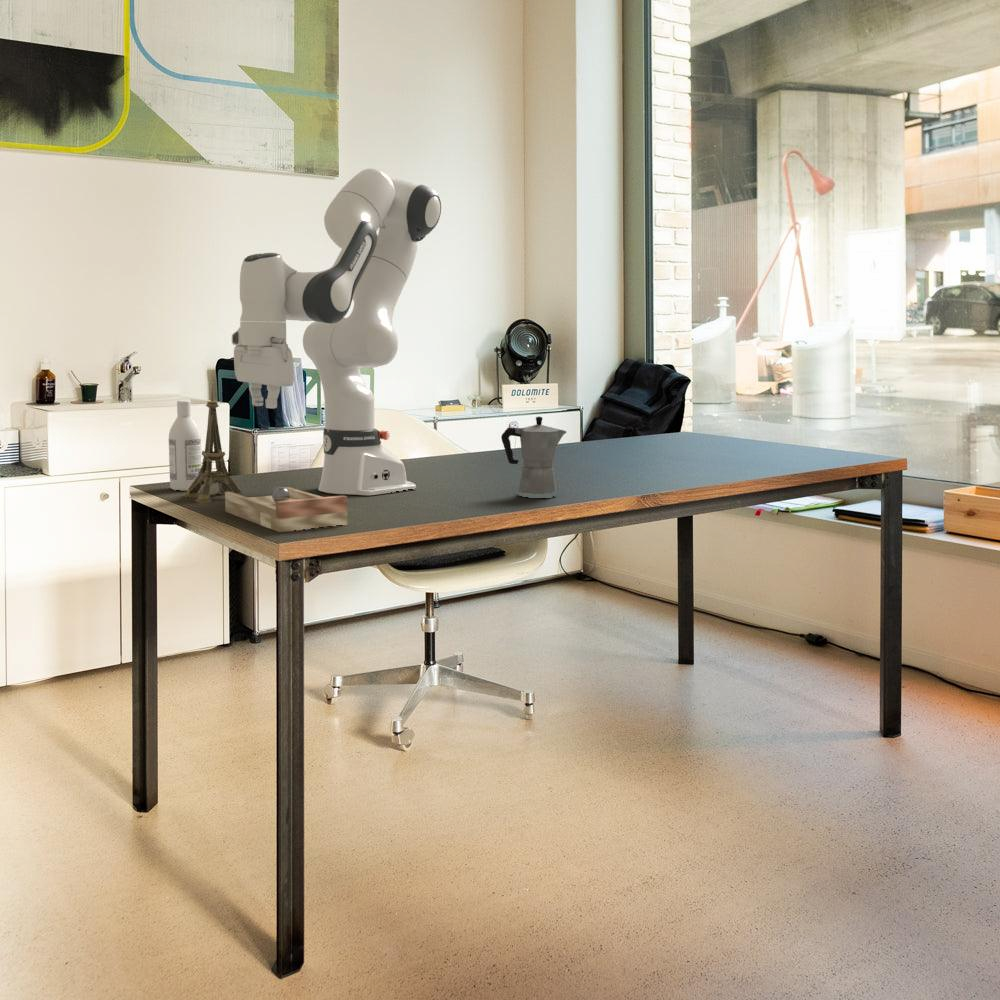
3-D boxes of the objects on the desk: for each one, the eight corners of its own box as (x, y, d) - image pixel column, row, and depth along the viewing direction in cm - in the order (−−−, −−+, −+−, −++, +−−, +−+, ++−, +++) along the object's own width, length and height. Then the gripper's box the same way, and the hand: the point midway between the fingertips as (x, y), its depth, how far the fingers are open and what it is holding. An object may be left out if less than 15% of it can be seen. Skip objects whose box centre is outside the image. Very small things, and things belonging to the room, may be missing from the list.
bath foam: (206, 487, 250) (203, 400, 247) (196, 491, 243) (194, 402, 240) (176, 486, 250) (173, 399, 247) (165, 491, 243) (163, 401, 240)
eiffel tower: (198, 503, 229) (195, 384, 225) (182, 496, 237) (179, 381, 233) (246, 499, 235) (244, 383, 231) (229, 492, 243) (226, 380, 239)
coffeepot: (556, 491, 253) (558, 414, 251) (572, 498, 245) (574, 418, 242) (493, 493, 249) (495, 415, 246) (507, 500, 240) (508, 418, 237)
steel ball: (285, 502, 216) (285, 485, 216) (293, 505, 214) (293, 487, 213) (269, 503, 214) (268, 486, 214) (276, 506, 211) (276, 488, 211)
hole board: (289, 505, 227) (288, 479, 226) (347, 525, 207) (347, 496, 206) (225, 511, 219) (224, 484, 218) (279, 532, 199) (279, 502, 198)
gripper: (301, 338, 208) (302, 410, 210) (256, 335, 224) (257, 402, 226) (271, 338, 204) (272, 411, 206) (227, 335, 220) (229, 403, 223)
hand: (264, 407), depth 216 cm, fingers open, 5 cm apart
